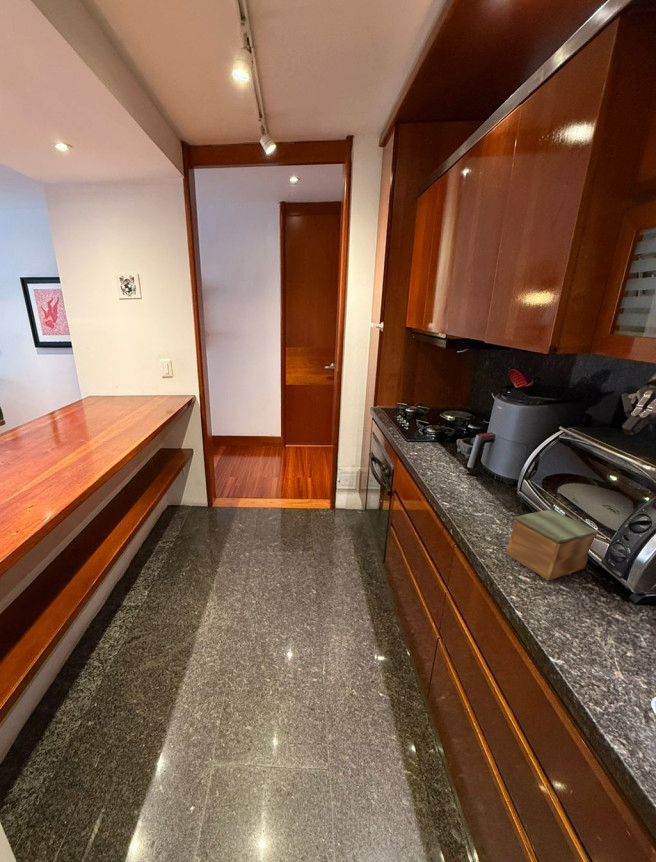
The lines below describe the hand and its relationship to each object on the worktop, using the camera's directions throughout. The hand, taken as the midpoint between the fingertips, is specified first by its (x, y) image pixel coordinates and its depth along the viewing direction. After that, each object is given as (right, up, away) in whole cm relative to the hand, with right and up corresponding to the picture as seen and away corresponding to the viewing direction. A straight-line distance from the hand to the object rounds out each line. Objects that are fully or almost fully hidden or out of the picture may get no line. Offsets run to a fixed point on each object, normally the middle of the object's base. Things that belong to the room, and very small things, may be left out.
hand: (627, 432), depth 89 cm
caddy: (-12, -32, +10) cm, 36 cm away
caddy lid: (-12, -23, +6) cm, 27 cm away
